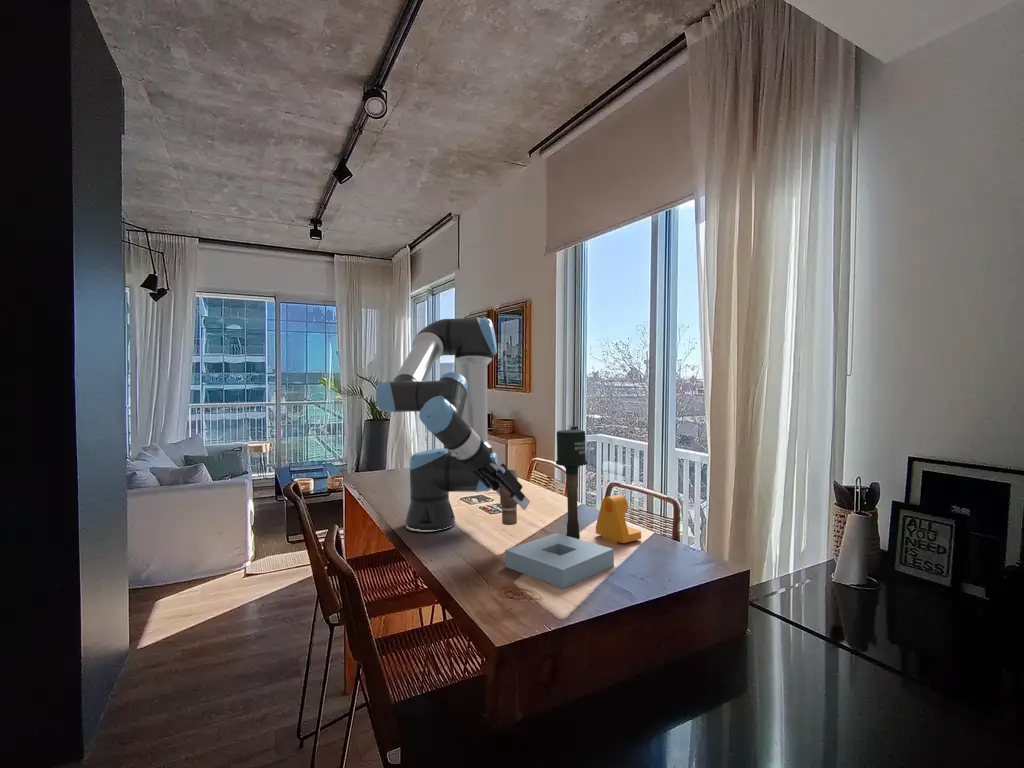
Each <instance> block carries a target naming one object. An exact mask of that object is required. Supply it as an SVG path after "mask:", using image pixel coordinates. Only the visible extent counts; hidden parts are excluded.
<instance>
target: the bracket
mask: <svg viewBox="0 0 1024 768" xmlns="http://www.w3.org/2000/svg"><path fill="white" fill-rule="evenodd" d="M628 509H629V504H628V500H627V499H626V497H625V496H624V495H622V494H616V495H610V496H605V497H603V498H602V501H601V504H600V509H599V513H598V516H597V520H596V525H595V534H597V535H600V536H601V539H603V540H606V541H608V542H612V543H614V544H617V545H618V544H620V543H622V544H626V543H630V542H633V541H637V540H642V531H641V530H639V529H636V528H634V527H630V526H629V525H627V522H626V518H625V514H626V513H627V512H628Z"/></svg>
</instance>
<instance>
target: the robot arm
mask: <svg viewBox="0 0 1024 768" xmlns="http://www.w3.org/2000/svg"><path fill="white" fill-rule="evenodd" d="M412 340H413V341H412V347H411V348H412V349H411V351H410V352H409V353H408V356H407V357H406V359H405V360H404V362H403V363H402V364H401V366H400V369H399V370H398V372H397V373H396V375H395V377H394V378H393V380H392V381H390V380H388V381H383V382H380V383H379V384H378V385H377V387H376V391H375V401H376V406H377V408H378V409H379V411H381V412H384V413H385V412H388V413H402V412H403V413H405V412H406V413H407V412H409V413H411V412H419V416H418V417H419V420H420V421H421V422H422V424H423V425H424V426H425V427H426V429H427V431H428V432H430V433H431V434H432V435H433V436H434V437H435V438H436V439H437V440H438V441H439V442H441V444H442V445H444V447H445V448H434V449H429V450H423V451H419V452H416V453H413V454H412V455H411V457H410V460H409V483H410V484H409V485H410V486H409V488H410V490H409V492H410V501H409V505H408V509H407V513H406V517H405V520H404V525H405V524H406V525H407V526H408V527H410V528H414V529H420V530H438V529H444V528H447V527H450V526H452V525H454V524H455V525H456V517H455V514H454V510H453V507H452V505H451V502H450V496H449V495H450V493H455V492H456V493H458V492H459V493H461V492H462V493H466V492H467V493H470V492H471V493H480V492H481V493H482V492H489V491H493V492H495V493H496V494H498V496H500V485H501V486H503V487H504V488H505V489H506V490H507V491H508V492H509V493H510V497H511V498H513V499H514V500H515V501H516V502H517V503H518V504H517V505H518V506H519V507H520V509H522V510H523V511H526V509H527V508H528V506H529V505H530V502H531V500H530V499H529V498H528V497H527V496H526V494H525V493H523V492H522V489H523V485H522V484H521V482H519V481H517V479H516V478H515V477H514V476H513V475H512V474H511V473H510V471H509V470H508V469H507V468H508V467H507V465H506V464H505V463H501V464H500V465H499V464H498V457H499V456H498V454H497V453H496V452H494V451H493V446H492V445H491V444H490V443H489V441H488V365H489V364H490V363H491V362H492V361H493V356H495V355H497V354H498V353H497V352H498V350H497V349H498V347H497V339H496V333H495V328H494V324H493V322H492V320H491V319H490V318H488V317H466V318H465V317H464V318H442V319H439V320H435V321H433V322H432V323H429V324H428V325H426V326H425V327H423V328H422V329H421V330H420V331H419V332H418V333H416V335H415V337H414V338H413V339H412ZM442 356H454V360H455V362H456V363H457V364H458V365H459V373H458V372H454V371H450V372H447V373H445V374H442V375H441V376H440V378H439V380H427V379H428V377H429V374H430V372H431V370H432V368H433V366H434V364H435V362H436V361H438V359H440V358H441V357H442ZM455 525H454V526H455Z"/></svg>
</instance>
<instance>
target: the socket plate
mask: <svg viewBox="0 0 1024 768" xmlns="http://www.w3.org/2000/svg"><path fill="white" fill-rule="evenodd" d="M504 553H505V568H508V569H510V570H512V571H513V570H514V571H516V572H519V573H521V574H524V575H525V576H528V577H532V578H534V579H537V580H540V581H543V582H545V583H547V584H550V585H552V586H555V587H558V588H560V589H563V590H565V589H566V588H568V587H570V586H572V585H575V584H577V583H579V582H582V581H584V580H586V579H589V578H590V577H592V576H596V575H597V574H599V573H601V572H603V571H606V570H608V569H611V568H612V567H614V566H615V554H614V548H611V547H608V546H604V545H600V544H597V543H593V542H589V541H587V540H582V539H580V538H579V539H576V538H572V537H569V536H566V534H565V535H564V534H561V533H558V532H555V533H551V534H548V535H547V536H544V537H543V536H542V537H540V538H537V539H535V540H531V541H527V542H525V543H522V544H519V545H516V546H513V547H510V548H508V549H505V551H504Z"/></svg>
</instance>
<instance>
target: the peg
mask: <svg viewBox="0 0 1024 768" xmlns="http://www.w3.org/2000/svg"><path fill="white" fill-rule="evenodd" d="M507 469H508V470H509V471H510V473H511V474H512V475H513V476H514V477H515V478H516V479H517V481H518V478H519V477H518V468H517V467H507ZM518 482H519V481H518ZM499 503H500V506H501V523H502V525H504V526H514V525H517V523H518V517H517V515H518V511H517V507H518V506H517V505H518V503H517V502H516V501H515V500H514V499H513V498H511V497H510V493H509V492H508V491H507V490H506V489H505V488H504V487H503V486H501V485H500V495H499Z"/></svg>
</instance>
